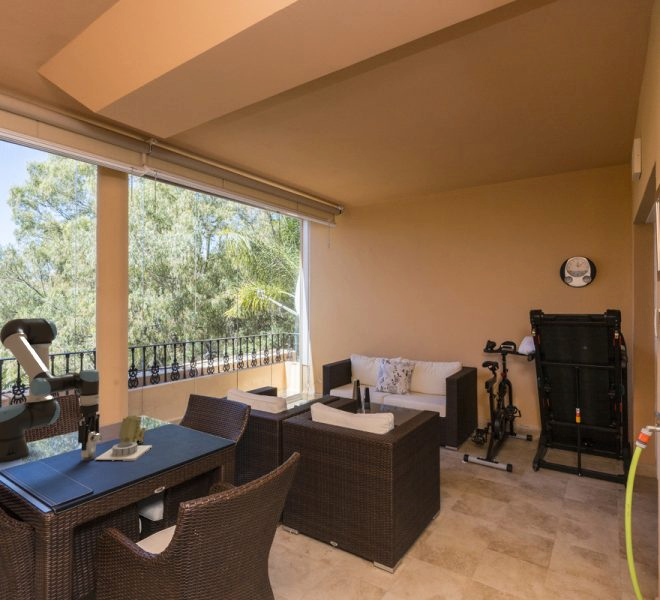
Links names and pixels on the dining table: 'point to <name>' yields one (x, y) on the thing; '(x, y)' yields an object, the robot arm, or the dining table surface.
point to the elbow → (92, 445)
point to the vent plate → (126, 457)
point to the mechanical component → (131, 430)
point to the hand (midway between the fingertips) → (88, 454)
